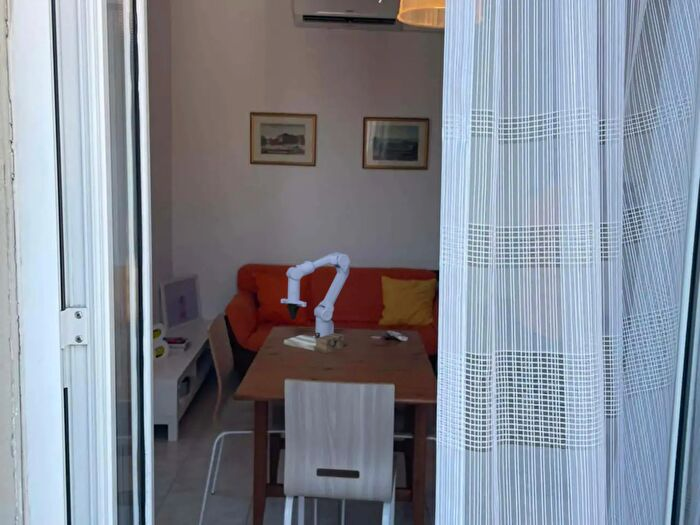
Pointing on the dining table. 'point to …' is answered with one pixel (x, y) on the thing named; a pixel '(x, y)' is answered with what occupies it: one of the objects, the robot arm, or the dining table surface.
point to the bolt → (319, 336)
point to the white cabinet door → (317, 342)
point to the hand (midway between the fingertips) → (293, 319)
